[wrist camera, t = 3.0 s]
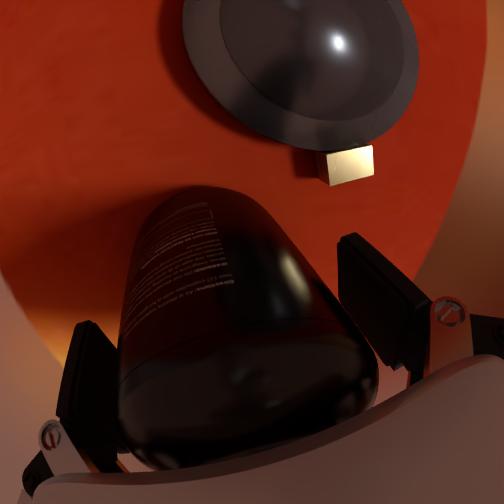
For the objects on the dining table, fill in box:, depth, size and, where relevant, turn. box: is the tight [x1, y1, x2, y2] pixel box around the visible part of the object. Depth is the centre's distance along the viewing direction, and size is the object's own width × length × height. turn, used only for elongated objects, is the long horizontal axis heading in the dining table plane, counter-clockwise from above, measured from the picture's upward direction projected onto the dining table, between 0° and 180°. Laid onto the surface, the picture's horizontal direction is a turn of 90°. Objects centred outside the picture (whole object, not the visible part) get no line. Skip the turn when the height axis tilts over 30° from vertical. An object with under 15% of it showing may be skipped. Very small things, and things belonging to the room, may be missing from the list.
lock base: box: [182, 0, 419, 186], centre depth 8 cm, size 14×11×1 cm
